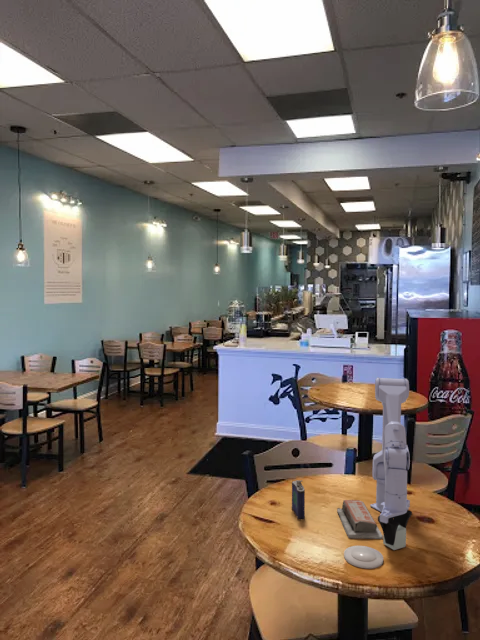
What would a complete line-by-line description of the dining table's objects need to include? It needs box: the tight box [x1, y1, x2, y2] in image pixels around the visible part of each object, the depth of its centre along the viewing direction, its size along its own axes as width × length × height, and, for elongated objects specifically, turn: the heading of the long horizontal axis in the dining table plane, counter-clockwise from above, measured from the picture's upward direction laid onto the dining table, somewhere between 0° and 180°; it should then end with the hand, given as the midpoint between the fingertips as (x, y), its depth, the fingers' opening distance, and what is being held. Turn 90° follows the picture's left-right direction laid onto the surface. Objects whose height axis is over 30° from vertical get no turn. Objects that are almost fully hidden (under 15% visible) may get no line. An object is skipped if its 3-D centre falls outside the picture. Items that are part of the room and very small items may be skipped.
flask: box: [291, 479, 306, 521], centre depth 155 cm, size 9×3×11 cm, turn 8°
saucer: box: [343, 545, 384, 570], centre depth 128 cm, size 10×10×1 cm
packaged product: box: [336, 499, 383, 540], centre depth 148 cm, size 18×5×10 cm
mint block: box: [382, 525, 407, 551], centre depth 134 cm, size 4×4×5 cm
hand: (394, 539), depth 135 cm, fingers closed on mint block, 5 cm apart
